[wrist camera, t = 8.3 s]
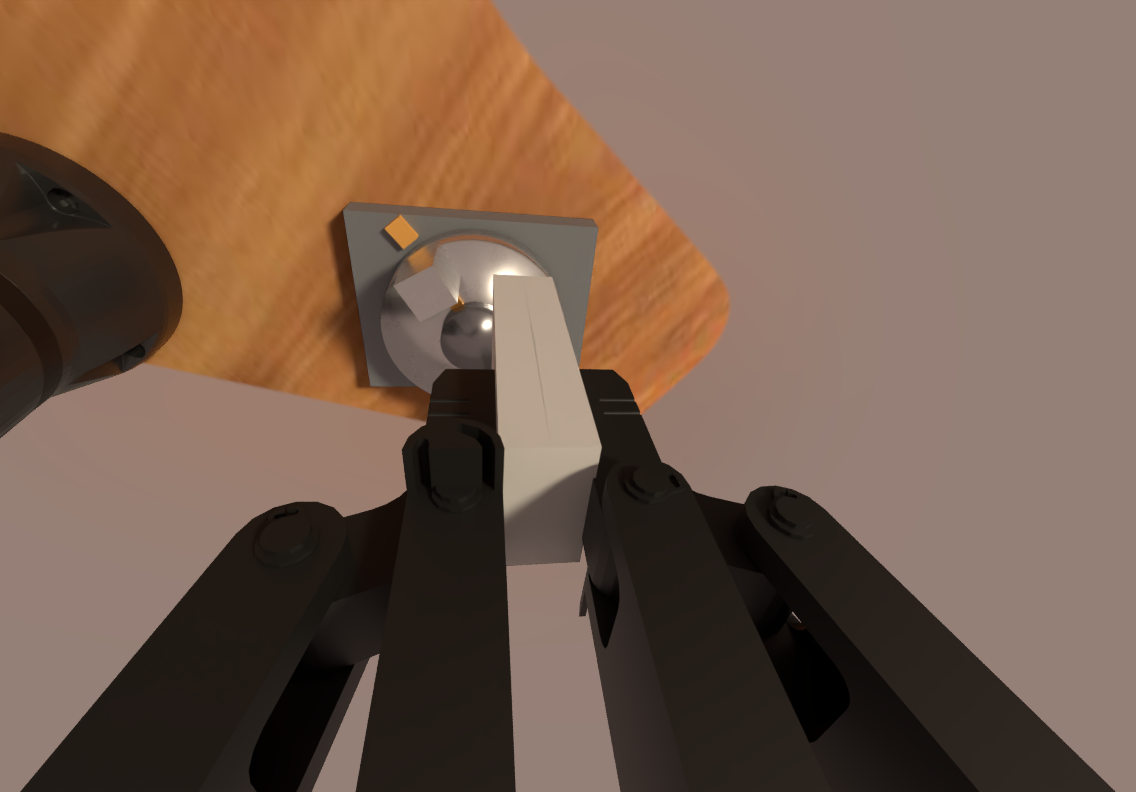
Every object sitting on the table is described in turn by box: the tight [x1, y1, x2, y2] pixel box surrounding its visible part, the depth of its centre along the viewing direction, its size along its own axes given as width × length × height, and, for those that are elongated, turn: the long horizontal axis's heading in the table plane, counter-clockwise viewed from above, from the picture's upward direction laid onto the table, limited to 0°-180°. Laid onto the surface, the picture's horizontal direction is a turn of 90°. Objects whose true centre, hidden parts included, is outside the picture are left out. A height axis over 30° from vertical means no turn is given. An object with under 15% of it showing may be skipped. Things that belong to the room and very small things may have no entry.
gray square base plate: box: [343, 202, 598, 387], centre depth 35 cm, size 16×13×3 cm
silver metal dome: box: [381, 229, 565, 394], centre depth 31 cm, size 12×12×7 cm
